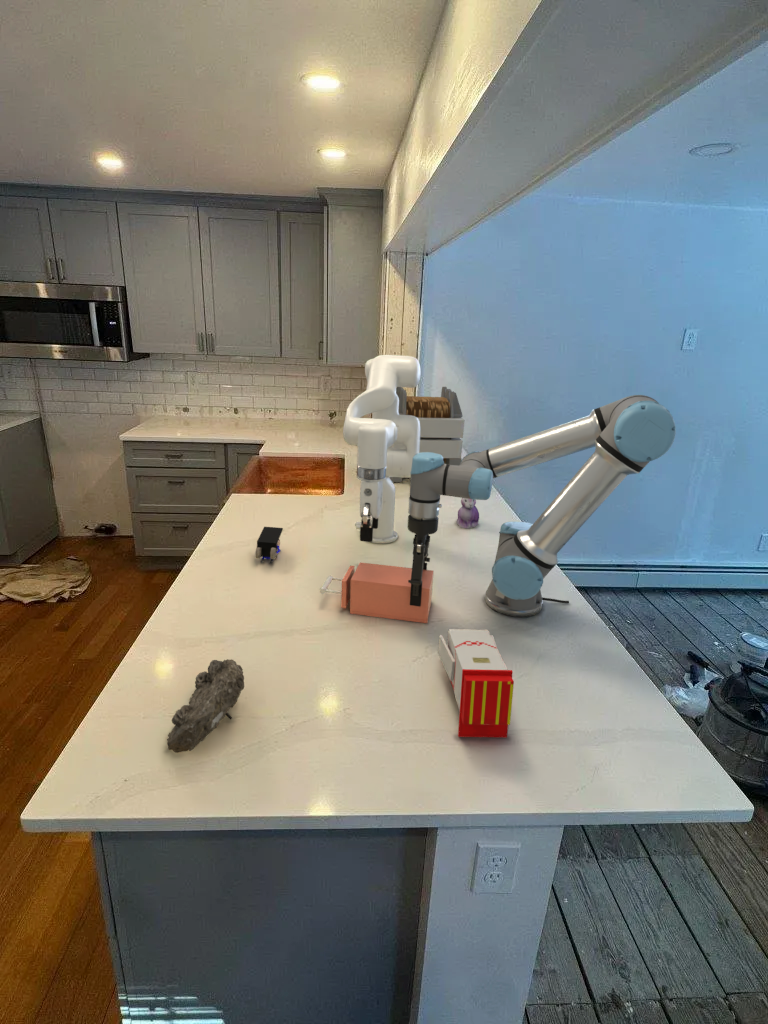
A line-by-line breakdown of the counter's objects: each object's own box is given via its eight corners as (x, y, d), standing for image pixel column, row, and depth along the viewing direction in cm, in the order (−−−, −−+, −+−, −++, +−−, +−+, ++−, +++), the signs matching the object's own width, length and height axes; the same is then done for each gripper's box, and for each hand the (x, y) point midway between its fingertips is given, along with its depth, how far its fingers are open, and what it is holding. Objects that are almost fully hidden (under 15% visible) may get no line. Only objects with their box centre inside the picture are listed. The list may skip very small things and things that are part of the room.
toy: (488, 613, 130) (523, 677, 101) (484, 667, 133) (517, 744, 104) (435, 612, 130) (455, 676, 101) (432, 666, 133) (451, 743, 103)
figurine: (465, 530, 205) (468, 491, 200) (449, 521, 213) (452, 483, 208) (486, 527, 209) (490, 488, 204) (469, 518, 218) (473, 480, 213)
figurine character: (277, 570, 171) (284, 545, 185) (276, 548, 168) (283, 525, 181) (254, 569, 171) (263, 545, 184) (253, 548, 168) (262, 524, 181)
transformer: (382, 463, 289) (386, 382, 275) (445, 464, 293) (451, 384, 279) (390, 482, 257) (394, 392, 243) (460, 483, 261) (468, 394, 247)
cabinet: (349, 613, 147) (350, 579, 143) (358, 594, 157) (359, 562, 153) (427, 623, 144) (429, 588, 140) (431, 603, 154) (433, 570, 150)
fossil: (192, 660, 117) (244, 628, 112) (224, 691, 120) (276, 661, 115) (142, 746, 98) (202, 712, 93) (182, 779, 101) (242, 748, 96)
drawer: (318, 605, 148) (318, 578, 146) (328, 588, 157) (328, 562, 154) (413, 617, 145) (415, 589, 142) (417, 599, 153) (419, 573, 151)
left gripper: (381, 482, 137) (378, 548, 143) (390, 465, 154) (387, 524, 159) (350, 480, 138) (349, 545, 144) (362, 463, 155) (360, 522, 160)
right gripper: (434, 533, 129) (427, 618, 136) (442, 502, 150) (436, 576, 158) (401, 530, 130) (396, 614, 137) (414, 499, 151) (409, 573, 159)
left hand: (369, 534), depth 152 cm, fingers open, 9 cm apart
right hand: (417, 594), depth 148 cm, fingers closed on cabinet, 11 cm apart
